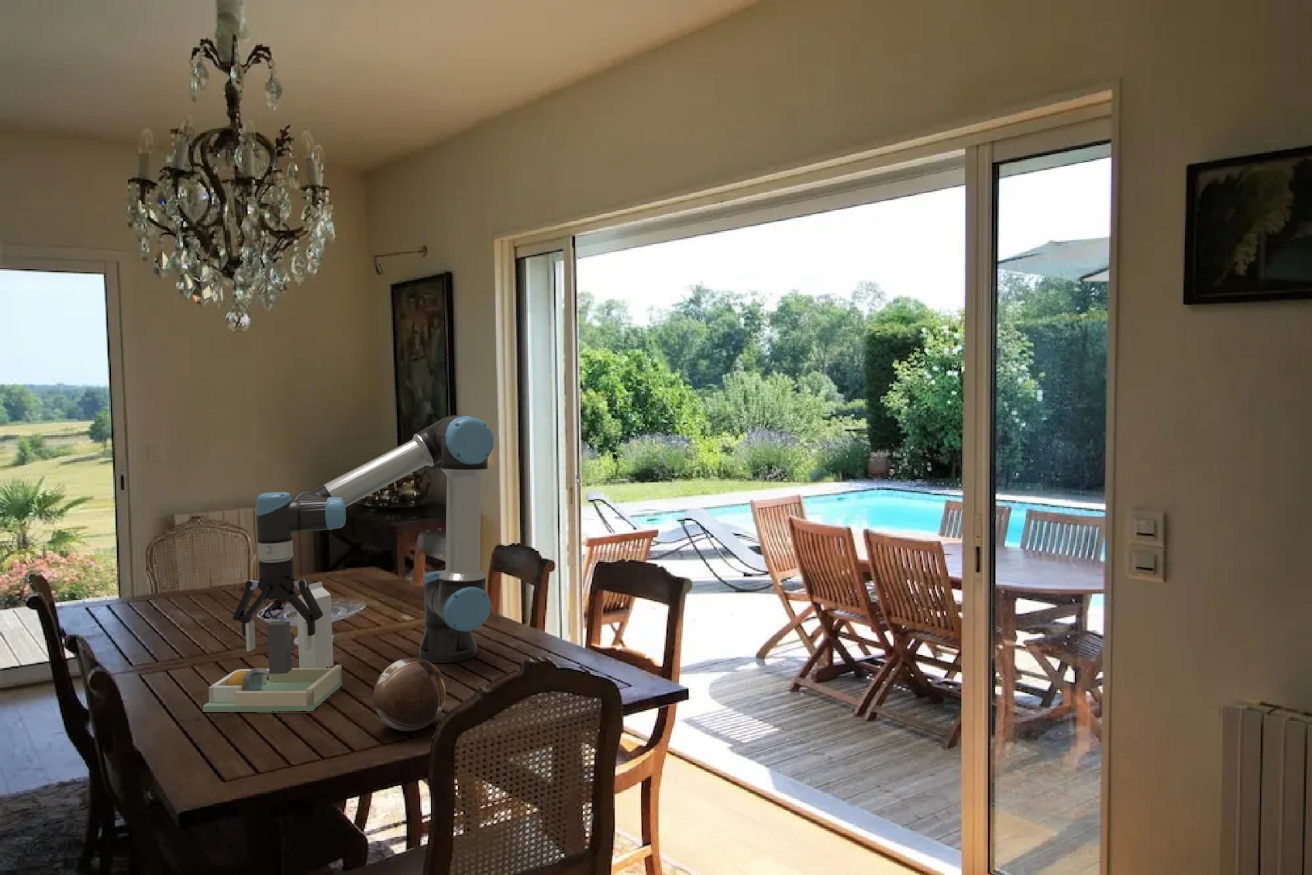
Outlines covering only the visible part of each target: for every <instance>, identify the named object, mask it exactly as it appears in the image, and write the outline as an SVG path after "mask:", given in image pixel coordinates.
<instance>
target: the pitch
mask: <svg viewBox="0 0 1312 875" xmlns="http://www.w3.org/2000/svg"><path fill="white" fill-rule="evenodd" d="M251 669H252V668H249V669H248V668H244V669H243V668H238V669H235V670H233V672H231V673H229V674H227V675H226V676H224V677H223V678H221V679H220V680H218V681H216V682H215V683H213V684H212V685H210V686H209V687H208V702H207V703H204V705H203V706H202V713H203V712H230V714H231V712H257V713H278V712H277V711H313V710H314V709H315V708H316V707H317V706H319V705H320V704H321V703H322V702H323V701H325V699H326V698H328V697H329V696H330V695H331V694H332V693H334V692H335V691H336V690H337V689H338V690H340V689H341V688H340V686H342V687H343V668H342V664H335V665H333V666H332V667H328V668H299V667H292V670H290V671H289V672H288V673H285V674H281V675H262V687H261V688H260V689H258V690H257V691H242V686H228V680H229V678H230V676H231V675H232V674H234V673H235V672H238V671H243V672H246V673H249V672H250V670H251ZM339 688H340V689H339ZM338 690H337V691H338ZM337 691H336V692H337ZM336 692H335V693H336ZM335 693H334V694H335ZM330 697H331V696H330ZM330 697H329V698H330ZM329 698H328V699H329ZM325 702H326V701H325ZM322 704H323V703H322ZM322 704H321V705H322ZM321 705H320V706H321ZM320 706H319V707H320ZM272 711H273V712H272ZM274 711H275V712H274ZM314 711H315V710H314ZM314 711H313V712H314Z"/></svg>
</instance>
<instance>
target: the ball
mask: <svg viewBox="0 0 1312 875" xmlns="http://www.w3.org/2000/svg"><path fill="white" fill-rule="evenodd" d="M246 674H248V673H246V672H243V671H238V672H235V673H234V674H232V675H231V676H230V678H229V680H228V686H242V691H245V682H244V676H245V675H246Z"/></svg>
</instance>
